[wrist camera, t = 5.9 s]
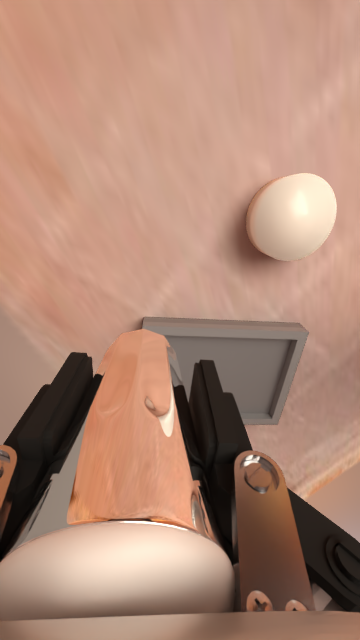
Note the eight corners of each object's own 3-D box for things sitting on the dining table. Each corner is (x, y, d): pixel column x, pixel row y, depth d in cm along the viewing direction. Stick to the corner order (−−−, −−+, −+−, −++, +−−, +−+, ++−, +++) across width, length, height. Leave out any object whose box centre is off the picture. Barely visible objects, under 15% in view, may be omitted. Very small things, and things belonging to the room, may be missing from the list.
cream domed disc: (326, 180, 23) (348, 177, 20) (304, 257, 26) (321, 263, 23) (253, 173, 22) (266, 169, 19) (239, 252, 25) (248, 258, 22)
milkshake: (180, 407, 13) (226, 825, 4) (82, 380, 12) (-138, 891, 3) (219, 340, 12) (420, 790, 3) (110, 300, 10) (-186, 901, 1)
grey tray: (298, 323, 29) (309, 332, 27) (271, 411, 35) (277, 424, 33) (143, 316, 27) (142, 325, 25) (142, 411, 33) (141, 424, 31)
